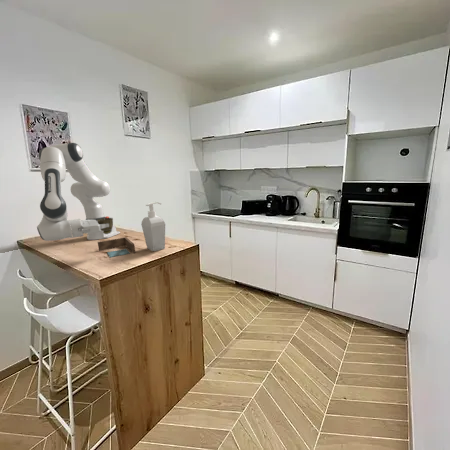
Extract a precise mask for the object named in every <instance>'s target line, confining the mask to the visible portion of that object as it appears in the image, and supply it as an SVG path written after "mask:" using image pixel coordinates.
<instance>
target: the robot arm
mask: <svg viewBox="0 0 450 450" xmlns="http://www.w3.org/2000/svg"><path fill="white" fill-rule="evenodd" d="M38 159H39V165H40V166H39V169H40V175H41V177H42V180H43V181H44V195H43V198H42V199H41V201H40V203H39V208H40V211H41V212H42V218H41V220H40V222H39V224H38V225H37V226H36V228H37V229H36V230H37V232H38V234H39V237H40V239H41V240H43V241H44V242H45V241H46V242H49V241H51V242H52V241H53V242H54V241H59V240H60V241H61V240H65V239H72V238H73V239H74V238H81V237H84V234H87V236H86V239H87V240H93V241H95V240H101V239H110V238H112V237H114V236H116V235H119V234H121V231H119V230H117V228H116V226H115V224H113V228H112V229H111V230H110V231H111V233H109V234H104V233H103V231H102V230H101V229H103V228H106V227H109V224H108V223H106V224H98V221H97V219H98V220H99V219H100V220H101V218H102V219H103V218H104V219H105V218H106V219H107V218H108V217H109V218H110V216H105V215H104V209H103V205H102V204H101V203H99V202H97V201H96V200H95V198H102V197H106V196H108V195H110V192H111V186H110V184H109V183H108V182H107V181H105V180H102V179H101V178H99V177H98V176H97V175H95V174H94V173H93V172H92V171H91V170H90V168H89V167H88V165H87V164H86V162H85V160H84V153H83V150H82V147H81V146H80V145H79V144H78V143H76V142H68V143H60V144H58V143H57V144H55V145H52V146H47V147H43V148H41V149H40V150H39V152H38ZM67 171H68V173H69V175H70V176H71V178H72V179H73V180H74V181H76V182H75V183H72V184H71V185H70V193H71V194H72V196H73V197H75V198H76V199H78V200H79V202H80V203H81V204H82V205H81V206H83V209H84V214H85V219H80V218H75V219H68V209H67V202H66V201H65V199H64V198H63V196H62V192H61V191H62V189H61V188H62V186H61V185H62V182H64V181H65V180H66V177H67V176H66V175H67Z"/></svg>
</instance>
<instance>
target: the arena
mask: <svg viewBox="0 0 450 450" xmlns="http://www.w3.org/2000/svg"><path fill="white" fill-rule="evenodd" d="M97 246H98V247H97V248H98V251H99V252H101V251H106V250H112V249H116V248H118V250H113V251H107V252H106V254H107V255H108V257H109V258H111V259H112V258H115V257H119V256H125V255H130V254H131V253H132V254H136V247H135V243H134V242H133V241H131V240H130V239H129V238H128V237H126V236H125V237H119V238H115V239H108V240H103V241H97ZM122 247H126V248H124V249H119V248H122Z"/></svg>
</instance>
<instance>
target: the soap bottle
mask: <svg viewBox="0 0 450 450" xmlns="http://www.w3.org/2000/svg"><path fill="white" fill-rule="evenodd" d="M155 204H157V205H162V203H161V202H156V201H155V202H154V201H153V202H148V203H146V204H145V207H148V209H149V211H147V216H146V217H144V218H143V219H142V221H141V228H142V232H143V236H144V241H145V244H146V248H147V249H148V250H149V251H152V252H157V251H161V250H165V249H166V223H165V221H164V219H163V218H162V217H161V216H159V215H157V212H156V210H154V205H155Z"/></svg>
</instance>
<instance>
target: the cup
mask: <svg viewBox="0 0 450 450" xmlns="http://www.w3.org/2000/svg"><path fill="white" fill-rule="evenodd" d="M97 221H98V224H106V223H108V224H109V227H106V228H103V229H101V230H102V231H103V233H104V234H109V233H111V231H110V230H111V229H112V228H113V225H114V218H113V217H110V216H109V217H108V218H107V219H106V218H105V219H104V218H103V219H102V218H101V220H100V219H99V220H98V219H97Z"/></svg>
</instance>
